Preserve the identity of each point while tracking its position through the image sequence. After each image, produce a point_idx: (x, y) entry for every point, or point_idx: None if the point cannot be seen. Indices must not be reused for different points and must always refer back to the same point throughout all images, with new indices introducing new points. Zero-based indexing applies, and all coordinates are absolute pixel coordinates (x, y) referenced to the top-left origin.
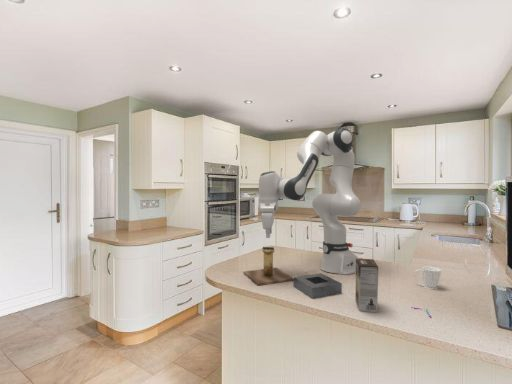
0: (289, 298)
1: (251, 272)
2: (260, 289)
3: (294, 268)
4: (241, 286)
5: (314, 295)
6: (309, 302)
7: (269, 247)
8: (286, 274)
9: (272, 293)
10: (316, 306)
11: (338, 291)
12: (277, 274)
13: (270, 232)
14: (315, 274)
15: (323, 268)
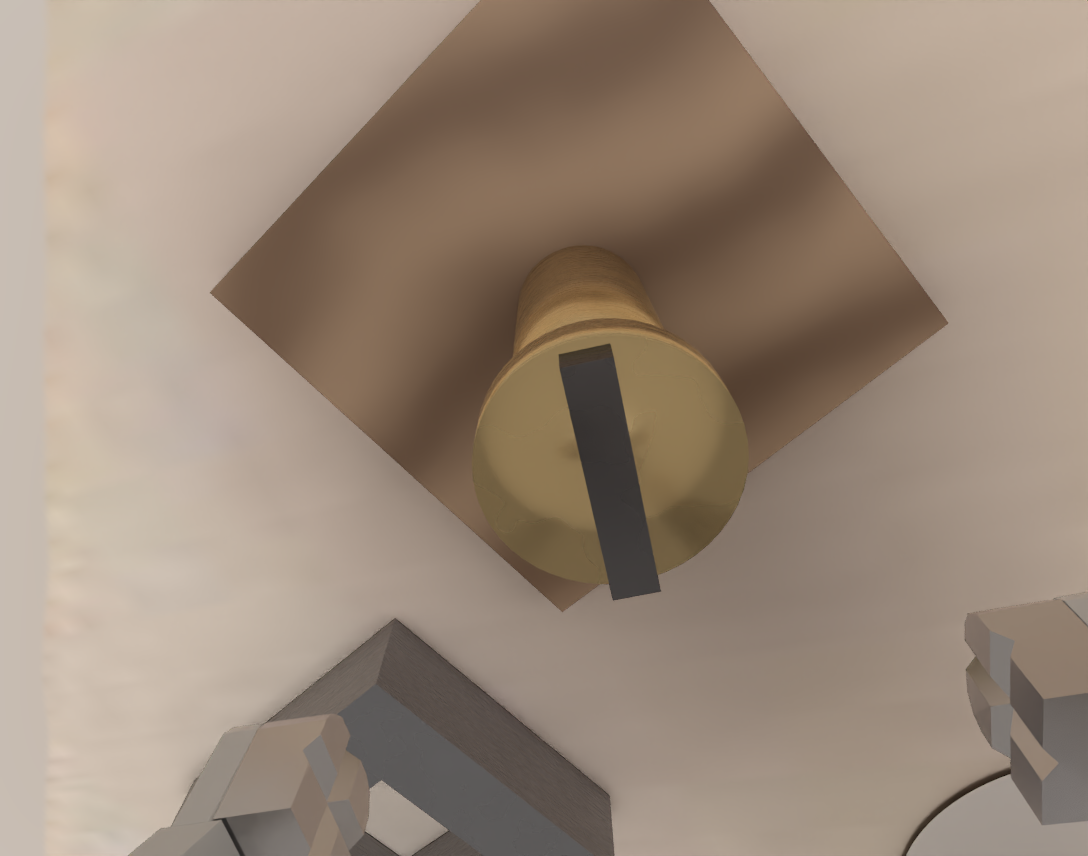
0: (94, 640)
1: (607, 30)
2: (141, 347)
3: (1026, 518)
4: (97, 89)
5: None
6: (111, 772)
7: (599, 515)
8: None
9: (112, 488)
10: (72, 816)
11: None
12: None
13: (995, 720)
14: (553, 840)
15: (986, 810)
